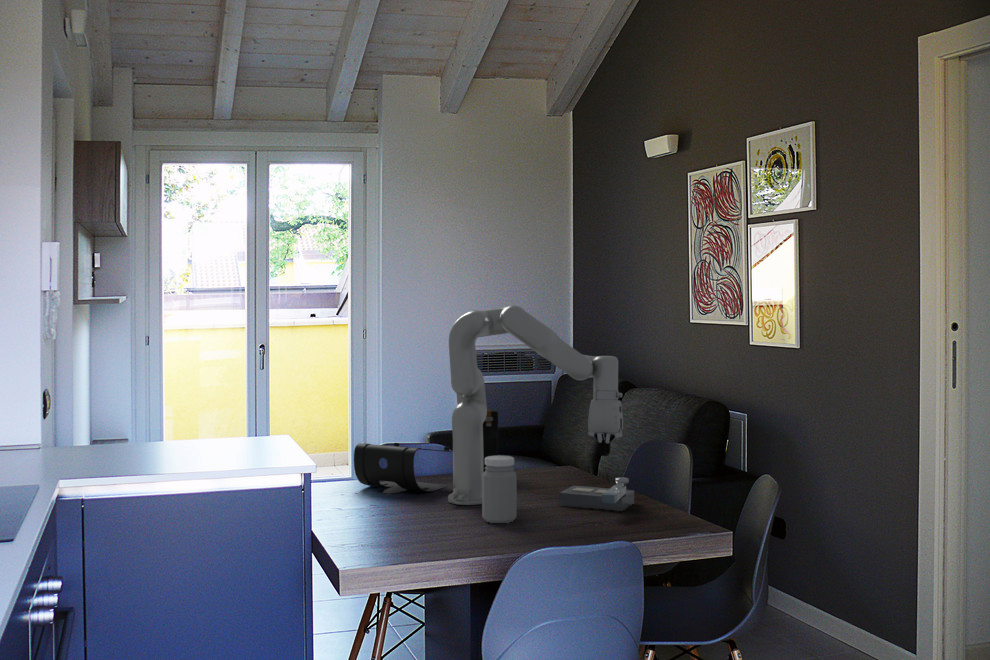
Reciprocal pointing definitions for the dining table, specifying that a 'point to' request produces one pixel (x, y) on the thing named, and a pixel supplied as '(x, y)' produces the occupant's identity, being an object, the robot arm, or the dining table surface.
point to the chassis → (593, 498)
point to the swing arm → (615, 491)
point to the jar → (499, 490)
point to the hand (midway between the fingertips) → (604, 455)
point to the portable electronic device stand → (390, 468)
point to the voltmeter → (490, 435)
